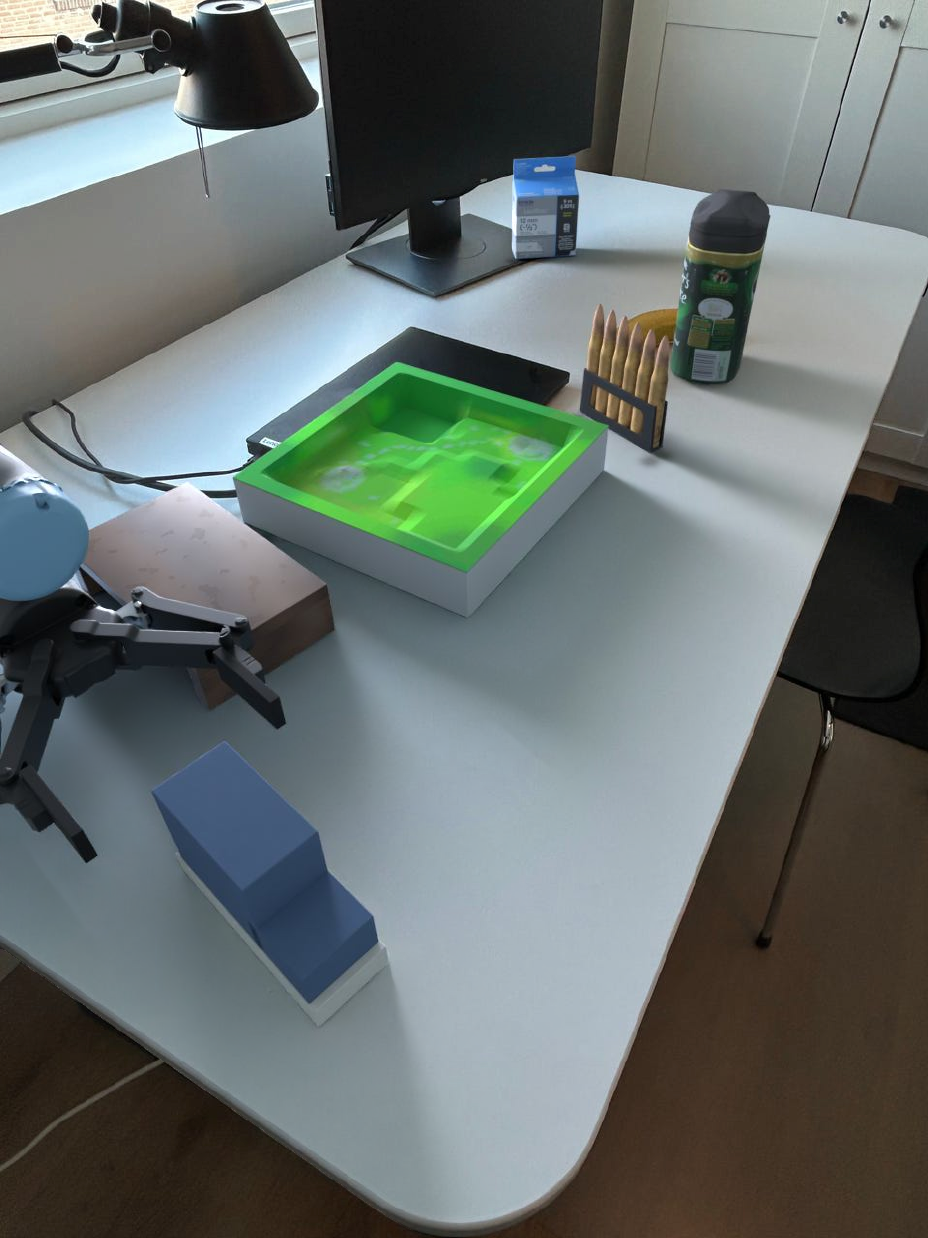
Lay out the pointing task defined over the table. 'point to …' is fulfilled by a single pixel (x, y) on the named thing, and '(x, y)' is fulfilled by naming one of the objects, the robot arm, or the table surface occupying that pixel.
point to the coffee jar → (718, 285)
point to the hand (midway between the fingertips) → (188, 776)
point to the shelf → (210, 576)
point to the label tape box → (544, 208)
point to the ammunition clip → (626, 382)
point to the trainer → (270, 880)
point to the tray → (425, 483)
